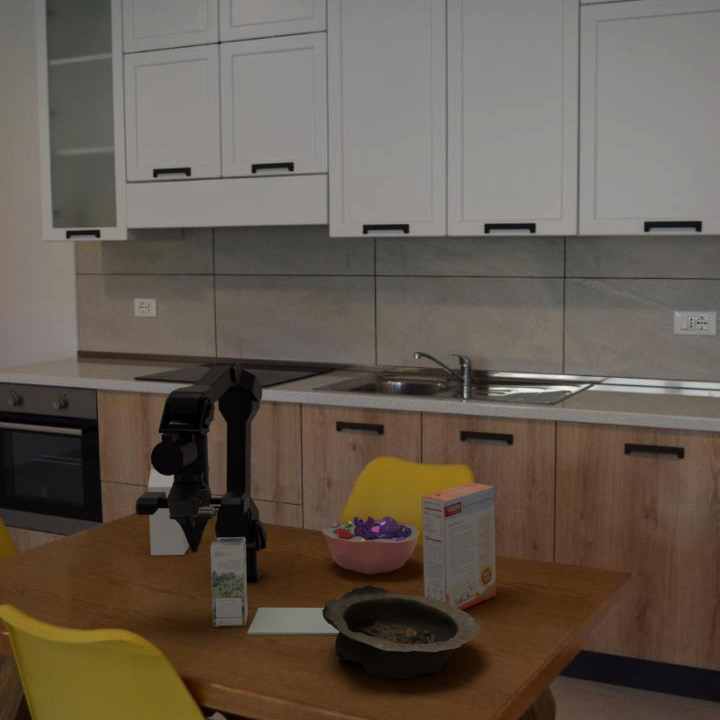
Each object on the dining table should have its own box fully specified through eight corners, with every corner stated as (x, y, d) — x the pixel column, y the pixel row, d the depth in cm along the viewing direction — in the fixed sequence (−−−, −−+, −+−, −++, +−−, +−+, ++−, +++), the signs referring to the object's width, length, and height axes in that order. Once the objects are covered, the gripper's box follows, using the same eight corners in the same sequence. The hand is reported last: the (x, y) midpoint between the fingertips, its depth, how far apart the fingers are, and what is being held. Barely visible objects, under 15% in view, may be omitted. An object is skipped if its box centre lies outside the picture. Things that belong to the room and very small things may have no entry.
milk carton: (184, 555, 220) (180, 467, 218) (150, 556, 220) (147, 468, 218) (190, 546, 227) (186, 460, 225) (157, 546, 227) (154, 461, 225)
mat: (259, 609, 186) (258, 607, 186) (348, 610, 185) (347, 608, 185) (247, 634, 174) (247, 632, 174) (342, 635, 173) (342, 632, 173)
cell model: (345, 553, 220) (344, 501, 218) (433, 564, 211) (433, 509, 210) (307, 576, 204) (305, 520, 203) (400, 589, 196) (399, 531, 194)
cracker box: (471, 590, 195) (470, 480, 192) (497, 597, 190) (496, 485, 188) (421, 609, 185) (420, 494, 183) (447, 617, 181) (446, 499, 178)
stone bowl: (292, 649, 167) (294, 593, 166) (422, 631, 179) (424, 578, 178) (368, 704, 145) (371, 640, 145) (510, 679, 158) (513, 619, 157)
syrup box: (248, 615, 183) (246, 535, 182) (245, 627, 177) (243, 544, 176) (216, 616, 183) (213, 536, 182) (212, 628, 177) (209, 545, 176)
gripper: (124, 473, 170) (128, 566, 172) (236, 473, 169) (239, 566, 171) (143, 459, 181) (146, 546, 183) (248, 459, 180) (251, 546, 182)
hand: (194, 551), depth 179 cm, fingers closed
